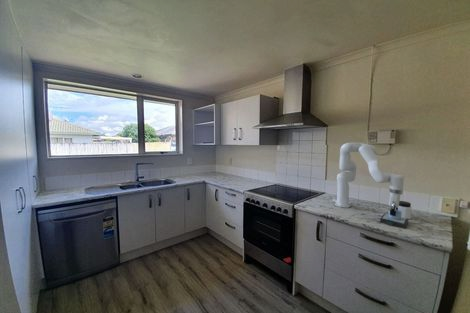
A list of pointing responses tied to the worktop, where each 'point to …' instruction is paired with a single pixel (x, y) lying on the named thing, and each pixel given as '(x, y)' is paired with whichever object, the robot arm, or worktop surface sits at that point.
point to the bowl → (398, 215)
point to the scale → (394, 221)
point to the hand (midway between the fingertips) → (393, 213)
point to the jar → (405, 209)
